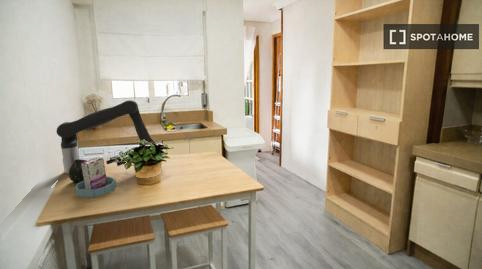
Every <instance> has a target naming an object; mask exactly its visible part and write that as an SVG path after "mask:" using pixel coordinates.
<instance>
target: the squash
mask: <svg viewBox="0 0 482 269" xmlns="http://www.w3.org/2000/svg"><path fill="white" fill-rule="evenodd" d="M86 161H88V160H86V159H80V158H79V159H77V160H75V161H74V163H73V164H72V166H71V167H70V169H69V174H68V177H69V180H71V182H73V183H75V184H78V183H79V182H82V181H84V177H83V171H82V166H81V163H83V162H86Z"/></svg>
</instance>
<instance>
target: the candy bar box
mask: <svg viewBox="0 0 482 269" xmlns="http://www.w3.org/2000/svg"><path fill="white" fill-rule="evenodd" d="M81 166H82V171H83V177H84V183H85V188H86V190H92V189H98V188H102V187H104V186H106V185H107V179H106V177H107V174H106V173H107V172H106V166H105V161H104V157H100V156H97V157H94V158H91V159H89V160H87V161H86V162H83V163H81Z"/></svg>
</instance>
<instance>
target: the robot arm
mask: <svg viewBox="0 0 482 269" xmlns="http://www.w3.org/2000/svg"><path fill="white" fill-rule="evenodd" d="M140 113H141V112H140V108H139V105H138V103H137V102H136V101H135V100H133V99H127V100H125V101H124V102H121V103H119V104H117V105H115V106H112V107H111V106H110V107H108V108H103V109H99V110H97V111H94V112H92V113H90V114H87V115H84V116H83V117H81V118H79V119H76V120H74V121H71V122H70V121H64V122H62V123H60V124H59V125H58V126H57V128H56V135H58V137H60V138H61V141H60V147H61V152H62V153H61V155H62V163H63V169H64V173H65V174H66V175H69V169H70V167H71V166H72V164H73V163H74V161H75V160H77V159H80V153H79V148H78V135H77V134H78V133H80V132H83V131H86V130H90V129H93V128H97V127H99V126H102V125H105V124H108V123H110V122H112V121H113V120H115V119H117V118H120V117H122V116H128V115H129V117H130V119H131V121H132V123H133V127H134V129H135V131H136V134H137V137H138V138H139V140H140V142H141V140H143V139H145V140H146V141H148V142H153V143H155V144H156V142H155V141H154V139H153V138H152V136H151V135H150V133H149V131H148V129H147V127H146V125H145V123H144V121H143V119H142V116H141V114H140ZM156 145H157V144H156ZM126 152H127V151H125V152H124V153H123V154H125V153H126ZM120 156H121V155H120ZM120 156H119V155H115V156H111V157H109V159H107V160H106V161H105V162H106V165H110V164H113V163H116V166H117V167H120V166H122V165H126V164H125V163H126V162H121V159H120Z"/></svg>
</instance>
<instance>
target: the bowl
mask: <svg viewBox="0 0 482 269" xmlns="http://www.w3.org/2000/svg"><path fill="white" fill-rule="evenodd" d="M106 179H107V185H106V186H104V187H102V188H98V189H92V190H86V188H85V183H84V181H82V182H79V183H76V185H74V190H75V194H77V195H76V197H78V198H82V199H84V198H85V199H87V198H88V199H89V198H98V197H101V196H105V195H108V194H110V193H111V192H114V191H115V189H117V181H116V179H115V178H114V177H112V176H106Z"/></svg>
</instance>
